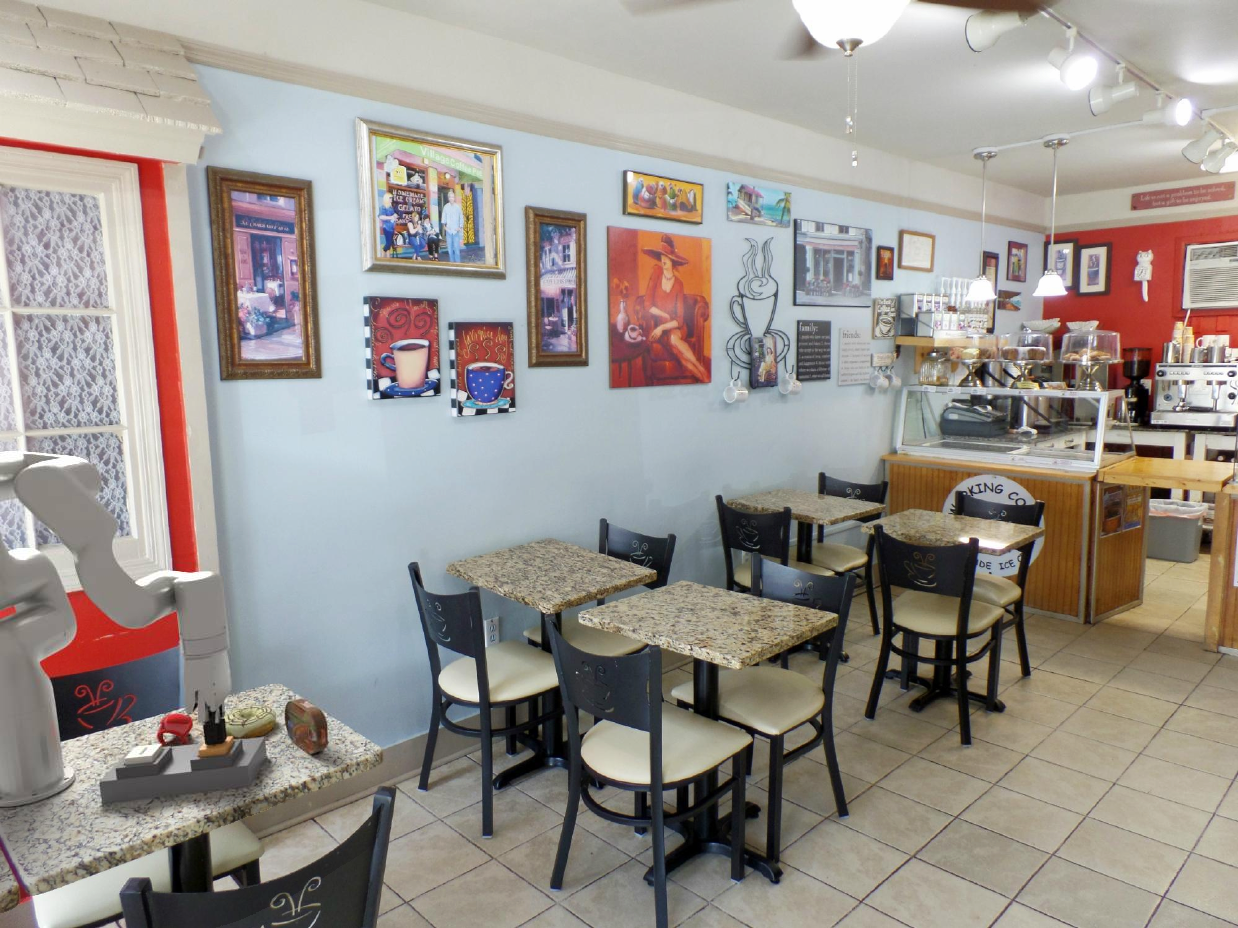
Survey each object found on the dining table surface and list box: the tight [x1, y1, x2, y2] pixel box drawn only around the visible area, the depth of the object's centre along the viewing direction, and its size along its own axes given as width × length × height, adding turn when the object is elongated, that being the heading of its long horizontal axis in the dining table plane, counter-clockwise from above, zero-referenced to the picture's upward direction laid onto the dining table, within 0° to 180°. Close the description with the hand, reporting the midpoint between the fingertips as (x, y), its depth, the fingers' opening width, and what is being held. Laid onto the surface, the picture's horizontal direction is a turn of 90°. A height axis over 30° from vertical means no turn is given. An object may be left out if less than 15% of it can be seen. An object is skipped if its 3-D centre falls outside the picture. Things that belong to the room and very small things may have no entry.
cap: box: [156, 712, 194, 747], centre depth 160 cm, size 8×6×6 cm
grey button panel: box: [98, 736, 268, 805], centre depth 144 cm, size 24×11×6 cm, turn 99°
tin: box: [284, 698, 329, 755], centre depth 156 cm, size 15×3×8 cm, turn 44°
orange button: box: [198, 736, 234, 757], centre depth 143 cm, size 4×4×2 cm
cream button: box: [124, 743, 163, 765], centre depth 141 cm, size 4×4×2 cm
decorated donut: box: [224, 704, 277, 740], centre depth 164 cm, size 10×11×4 cm
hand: (216, 741), depth 143 cm, fingers closed
